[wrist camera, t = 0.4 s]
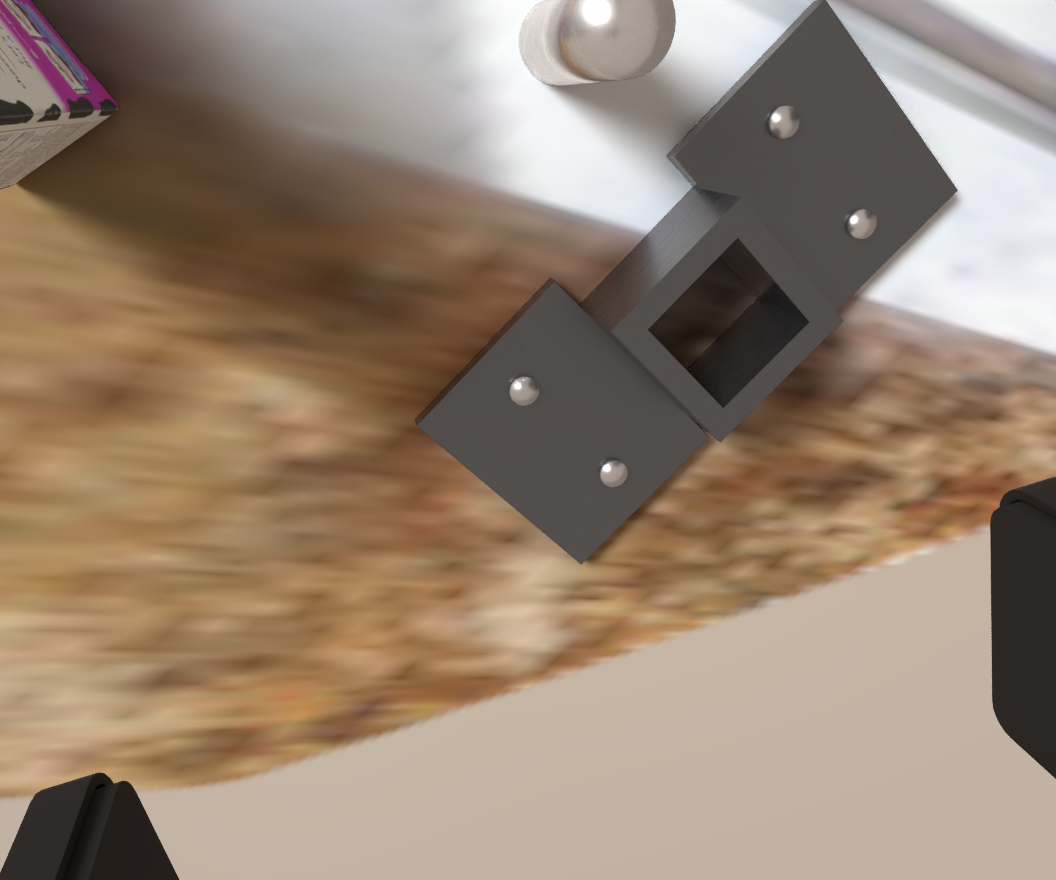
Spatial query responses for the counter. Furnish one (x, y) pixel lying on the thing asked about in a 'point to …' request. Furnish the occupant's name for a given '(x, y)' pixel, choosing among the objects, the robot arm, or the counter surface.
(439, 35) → the counter surface
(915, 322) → the counter surface
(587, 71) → the pin
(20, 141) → the candy bar box
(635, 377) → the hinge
